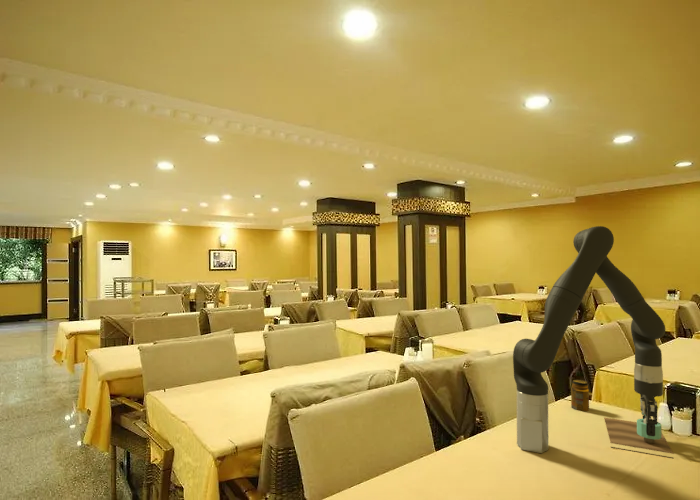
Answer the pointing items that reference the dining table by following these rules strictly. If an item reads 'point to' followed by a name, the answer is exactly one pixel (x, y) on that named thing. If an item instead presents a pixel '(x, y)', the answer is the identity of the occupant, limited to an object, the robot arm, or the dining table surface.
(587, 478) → the dining table surface
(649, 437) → the ring
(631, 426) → the board
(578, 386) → the condiment
